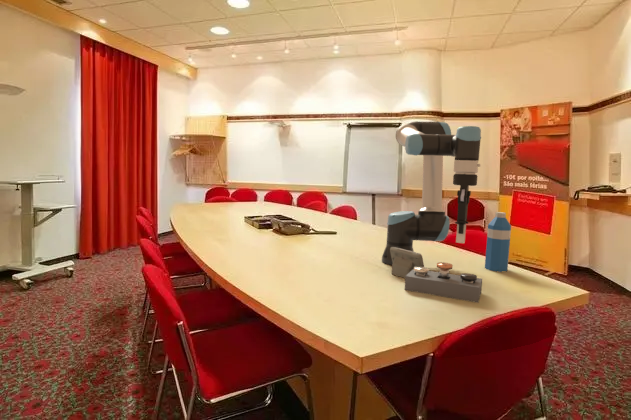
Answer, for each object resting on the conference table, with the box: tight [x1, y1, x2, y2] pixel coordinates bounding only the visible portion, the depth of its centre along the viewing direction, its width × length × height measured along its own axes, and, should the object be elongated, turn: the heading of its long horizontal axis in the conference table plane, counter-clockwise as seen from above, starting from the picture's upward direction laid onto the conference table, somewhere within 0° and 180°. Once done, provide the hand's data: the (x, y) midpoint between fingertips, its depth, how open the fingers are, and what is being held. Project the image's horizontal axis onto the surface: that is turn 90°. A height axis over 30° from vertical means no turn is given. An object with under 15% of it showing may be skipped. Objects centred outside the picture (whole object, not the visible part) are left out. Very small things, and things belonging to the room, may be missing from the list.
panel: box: [404, 269, 483, 303], centre depth 134 cm, size 24×12×5 cm, turn 62°
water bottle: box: [484, 211, 512, 273], centre depth 167 cm, size 9×9×25 cm
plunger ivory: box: [413, 266, 430, 276], centre depth 138 cm, size 5×5×5 cm
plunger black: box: [460, 272, 478, 283], centre depth 130 cm, size 5×5×5 cm
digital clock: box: [390, 247, 425, 279], centre depth 153 cm, size 16×9×11 cm, turn 23°
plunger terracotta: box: [436, 261, 454, 279], centre depth 134 cm, size 5×5×5 cm
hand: (460, 242), depth 131 cm, fingers closed
